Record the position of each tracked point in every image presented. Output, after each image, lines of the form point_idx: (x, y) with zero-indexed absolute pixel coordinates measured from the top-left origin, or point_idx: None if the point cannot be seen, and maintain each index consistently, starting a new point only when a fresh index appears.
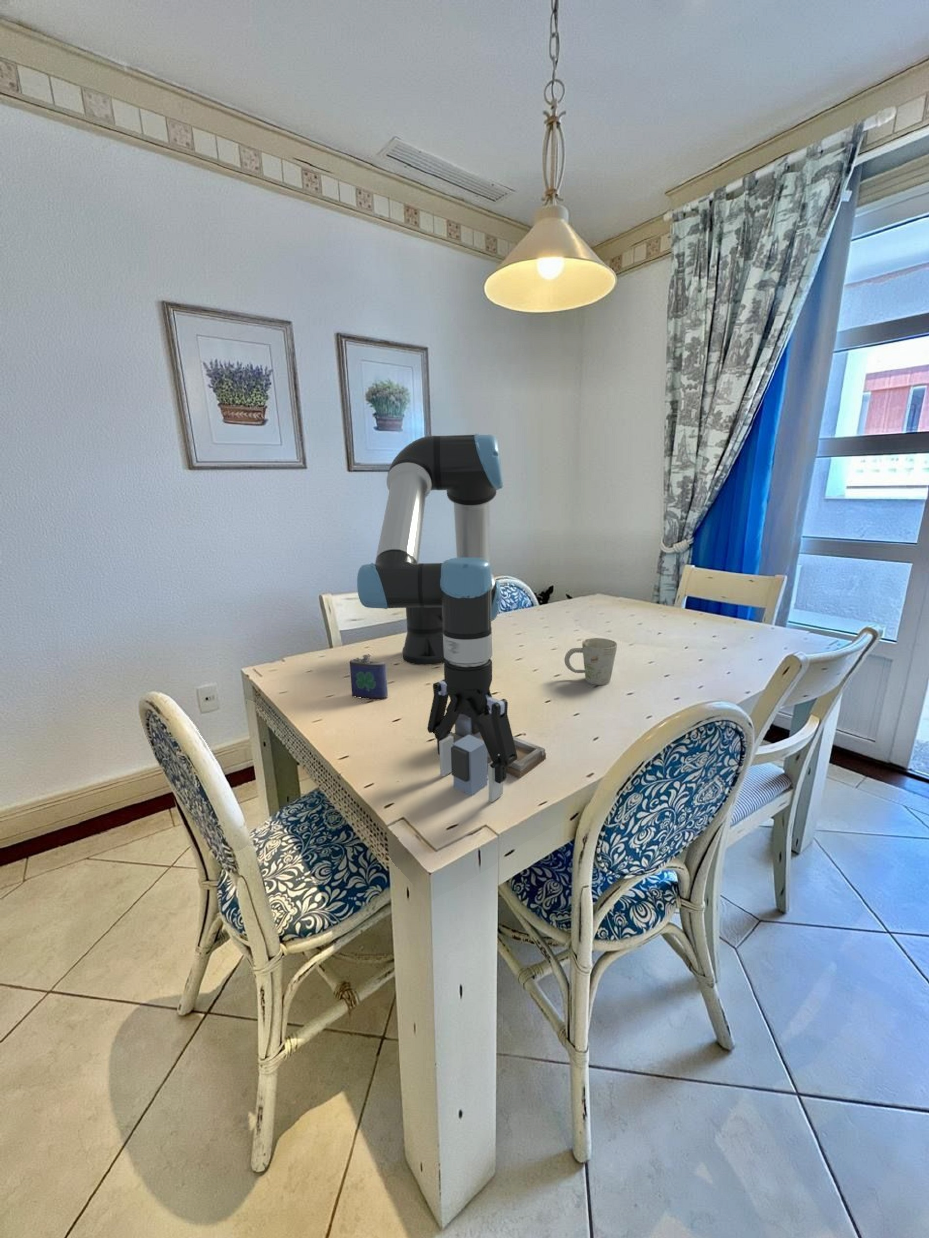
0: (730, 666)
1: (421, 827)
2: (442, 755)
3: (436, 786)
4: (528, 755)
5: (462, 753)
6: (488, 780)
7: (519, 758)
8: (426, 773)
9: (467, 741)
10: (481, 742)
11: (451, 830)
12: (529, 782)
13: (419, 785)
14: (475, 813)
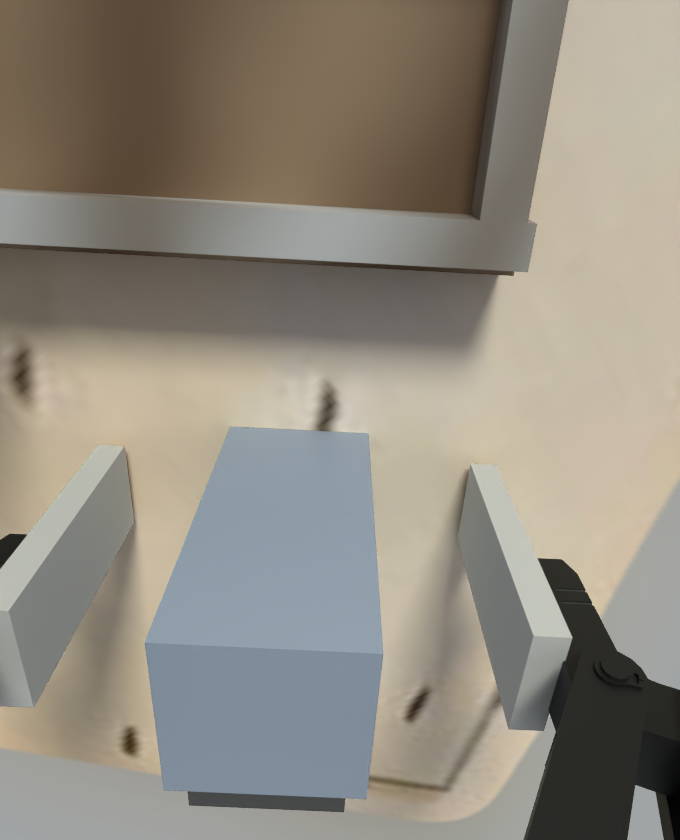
0: None
1: None
2: (79, 622)
3: (167, 579)
4: (512, 76)
5: (313, 805)
6: (480, 623)
7: (418, 100)
8: None
9: (232, 721)
10: (343, 678)
11: (427, 717)
12: (577, 264)
13: (102, 613)
14: (449, 616)
